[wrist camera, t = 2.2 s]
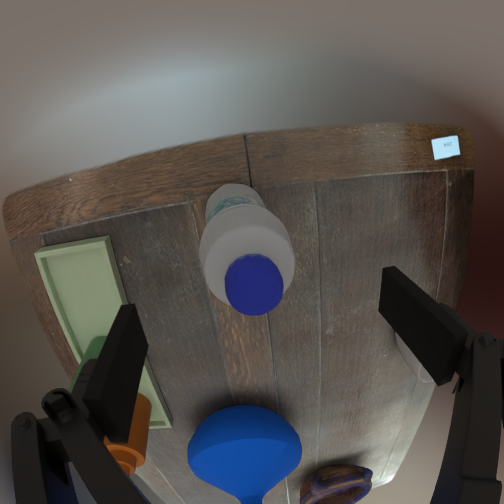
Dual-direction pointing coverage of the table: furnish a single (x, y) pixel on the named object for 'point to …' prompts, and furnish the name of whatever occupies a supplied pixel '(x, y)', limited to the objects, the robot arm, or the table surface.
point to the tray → (92, 303)
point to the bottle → (245, 251)
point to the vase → (244, 451)
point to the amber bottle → (133, 438)
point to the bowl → (336, 485)
